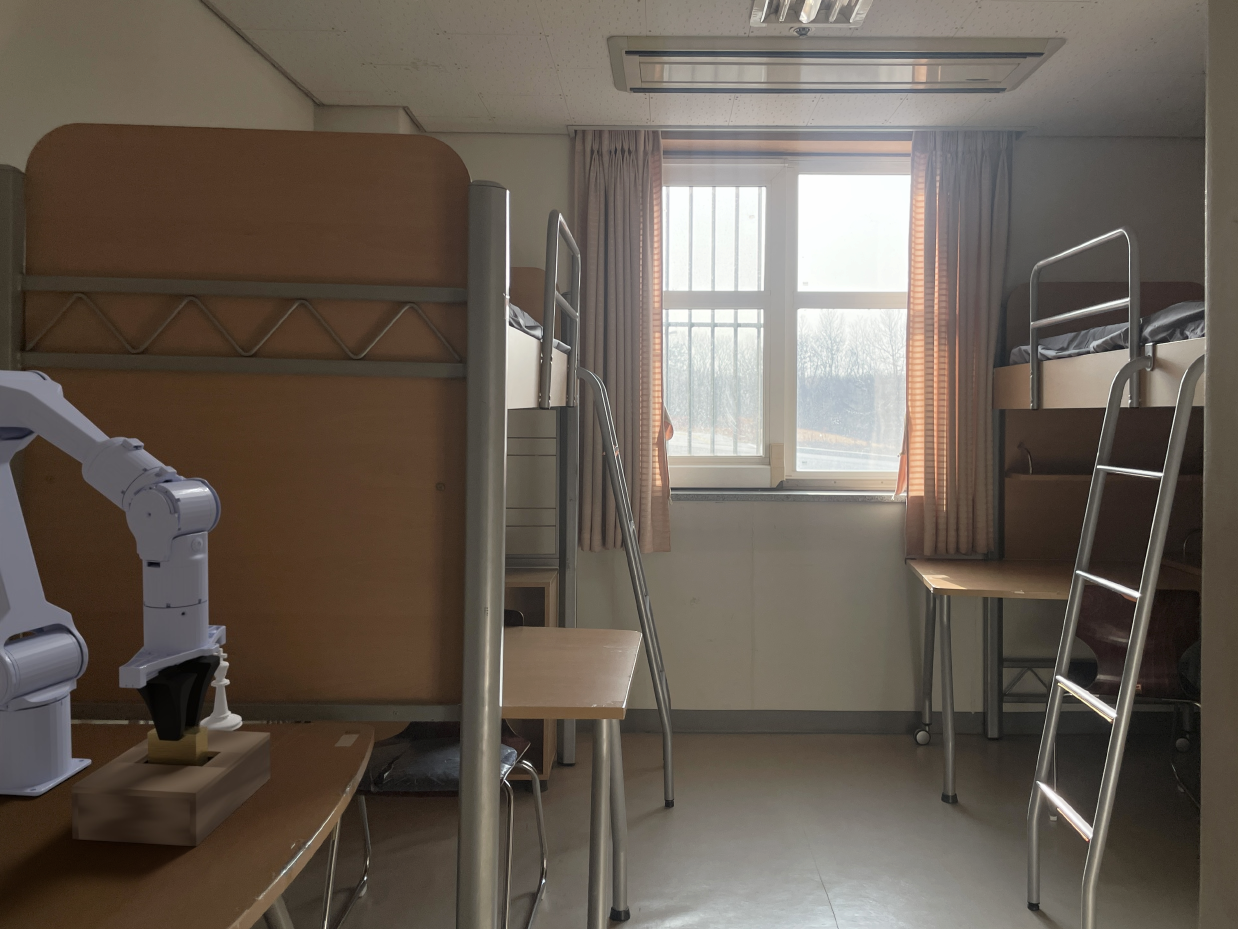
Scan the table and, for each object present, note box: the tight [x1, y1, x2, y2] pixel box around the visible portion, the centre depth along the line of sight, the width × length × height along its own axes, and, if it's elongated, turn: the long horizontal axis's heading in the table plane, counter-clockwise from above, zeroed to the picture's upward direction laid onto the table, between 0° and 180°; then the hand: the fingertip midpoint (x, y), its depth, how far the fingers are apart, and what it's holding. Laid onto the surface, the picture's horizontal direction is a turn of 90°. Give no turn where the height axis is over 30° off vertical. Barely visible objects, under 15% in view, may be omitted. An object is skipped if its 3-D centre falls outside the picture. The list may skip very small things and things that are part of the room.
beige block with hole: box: [70, 730, 271, 847], centre depth 83 cm, size 12×14×5 cm
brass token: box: [147, 725, 208, 767], centre depth 83 cm, size 5×2×5 cm, turn 87°
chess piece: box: [199, 647, 243, 731], centre depth 103 cm, size 5×5×10 cm
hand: (178, 734), depth 82 cm, fingers closed on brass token, 2 cm apart
